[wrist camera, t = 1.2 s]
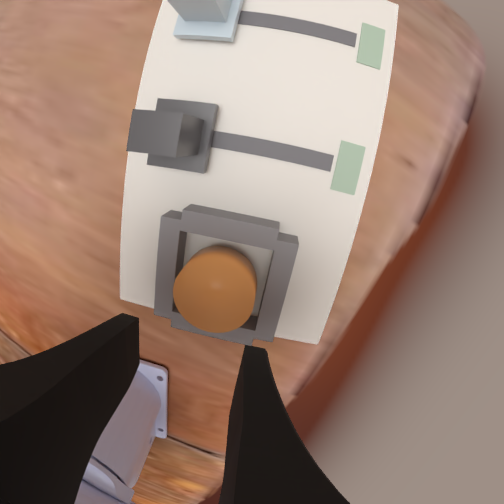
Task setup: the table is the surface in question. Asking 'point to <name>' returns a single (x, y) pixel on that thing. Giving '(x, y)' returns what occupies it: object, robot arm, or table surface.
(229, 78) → the control panel
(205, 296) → the orange button
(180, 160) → the dark gray switch
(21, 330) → the table surface
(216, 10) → the pale blue lever
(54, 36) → the table surface
